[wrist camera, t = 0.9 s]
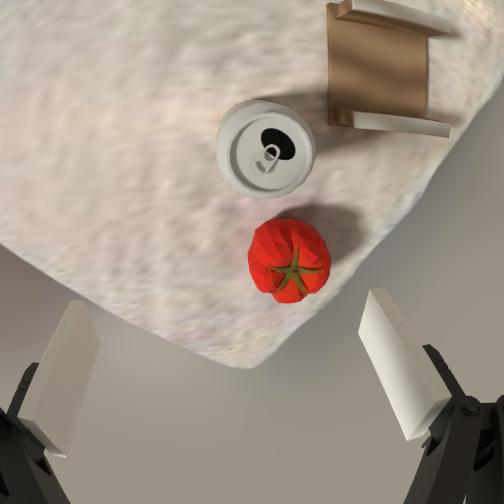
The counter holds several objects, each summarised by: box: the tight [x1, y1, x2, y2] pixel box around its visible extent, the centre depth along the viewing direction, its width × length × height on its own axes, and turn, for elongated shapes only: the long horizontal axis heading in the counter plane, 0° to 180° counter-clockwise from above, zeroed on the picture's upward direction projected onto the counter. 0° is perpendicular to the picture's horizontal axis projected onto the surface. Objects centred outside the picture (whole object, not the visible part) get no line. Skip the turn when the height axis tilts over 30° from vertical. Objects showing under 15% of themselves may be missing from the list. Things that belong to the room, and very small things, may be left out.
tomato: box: [248, 219, 331, 304], centre depth 35 cm, size 9×9×8 cm
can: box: [216, 100, 316, 199], centre depth 27 cm, size 8×8×12 cm
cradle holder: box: [326, 0, 451, 138], centre depth 26 cm, size 14×12×7 cm
